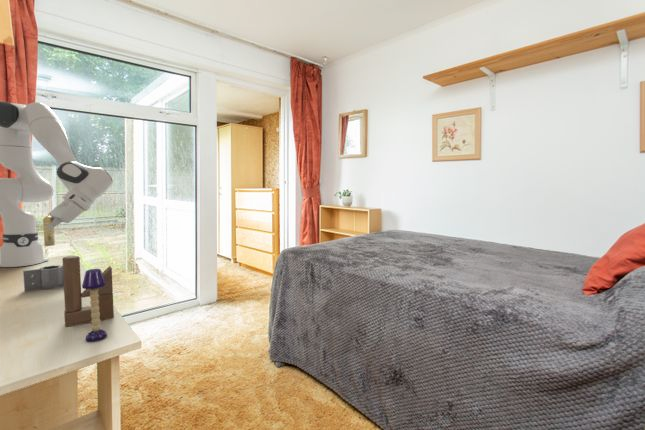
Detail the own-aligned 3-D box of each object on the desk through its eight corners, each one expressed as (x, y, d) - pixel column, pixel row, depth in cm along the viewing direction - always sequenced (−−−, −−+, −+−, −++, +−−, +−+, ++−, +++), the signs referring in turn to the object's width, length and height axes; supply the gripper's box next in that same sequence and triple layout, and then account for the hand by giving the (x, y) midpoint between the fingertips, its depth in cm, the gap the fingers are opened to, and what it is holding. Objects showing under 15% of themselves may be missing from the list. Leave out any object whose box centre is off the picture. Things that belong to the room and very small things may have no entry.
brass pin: (43, 245, 126) (42, 216, 125) (53, 244, 128) (52, 215, 127) (45, 246, 124) (43, 216, 123) (55, 245, 126) (54, 216, 125)
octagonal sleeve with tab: (23, 289, 117) (21, 269, 116) (75, 280, 128) (74, 262, 127) (26, 293, 113) (25, 272, 112) (79, 283, 124) (78, 265, 123)
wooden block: (114, 318, 93) (111, 254, 91) (65, 327, 86) (61, 259, 85) (112, 314, 96) (109, 252, 94) (64, 323, 89) (61, 256, 88)
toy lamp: (80, 339, 80) (76, 270, 78) (100, 331, 84) (97, 266, 83) (93, 343, 78) (89, 273, 76) (112, 335, 82) (109, 268, 81)
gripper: (62, 195, 136) (32, 221, 130) (76, 196, 123) (44, 224, 116) (76, 206, 140) (48, 231, 133) (91, 207, 127) (61, 236, 120)
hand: (46, 228), depth 125 cm, fingers closed on brass pin, 3 cm apart
